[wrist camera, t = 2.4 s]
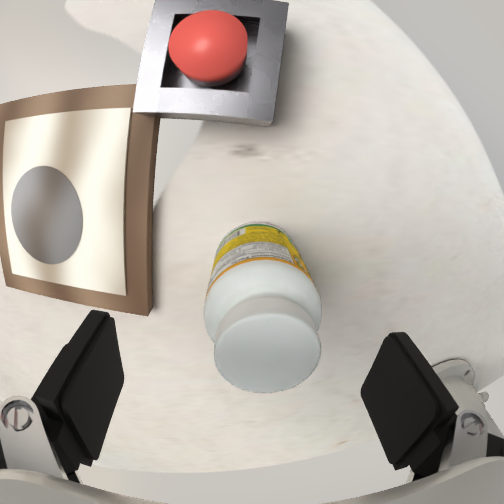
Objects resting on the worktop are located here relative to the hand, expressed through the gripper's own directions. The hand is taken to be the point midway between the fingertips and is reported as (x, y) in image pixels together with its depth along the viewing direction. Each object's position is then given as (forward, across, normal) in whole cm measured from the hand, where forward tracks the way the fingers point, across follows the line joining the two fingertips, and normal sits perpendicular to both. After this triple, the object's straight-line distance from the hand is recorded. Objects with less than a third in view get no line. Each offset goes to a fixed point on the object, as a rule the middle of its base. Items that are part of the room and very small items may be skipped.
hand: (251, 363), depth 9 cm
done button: (+9, +3, -11) cm, 15 cm away
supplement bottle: (+11, -1, +1) cm, 11 cm away
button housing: (+11, +3, -11) cm, 16 cm away
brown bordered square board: (+11, +13, -2) cm, 17 cm away
